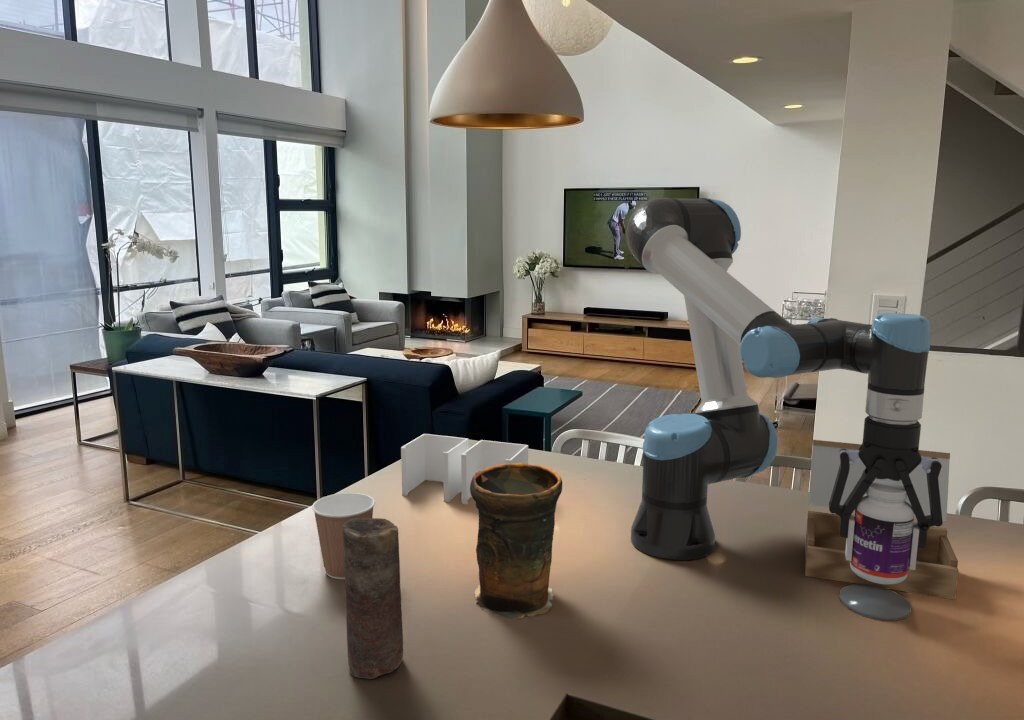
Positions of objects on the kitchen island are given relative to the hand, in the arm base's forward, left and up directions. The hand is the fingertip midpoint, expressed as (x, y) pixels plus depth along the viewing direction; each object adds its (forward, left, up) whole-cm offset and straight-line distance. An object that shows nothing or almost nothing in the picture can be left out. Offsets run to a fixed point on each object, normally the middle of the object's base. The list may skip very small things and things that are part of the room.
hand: (879, 561), depth 115 cm
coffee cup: (-83, -20, -7) cm, 86 cm away
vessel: (-53, -18, -7) cm, 56 cm away
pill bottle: (0, 0, -2) cm, 2 cm away
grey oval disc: (0, 0, -7) cm, 7 cm away
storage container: (-79, +20, -8) cm, 82 cm away
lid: (+1, +20, +6) cm, 21 cm away
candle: (-64, -42, -7) cm, 77 cm away
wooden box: (+1, +12, -7) cm, 14 cm away
